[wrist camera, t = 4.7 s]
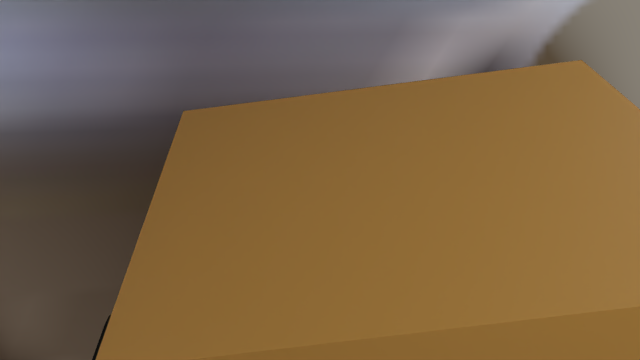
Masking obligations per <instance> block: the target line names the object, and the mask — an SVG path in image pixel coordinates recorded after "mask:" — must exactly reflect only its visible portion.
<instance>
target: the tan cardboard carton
mask: <svg viewBox="0 0 640 360" xmlns="http://www.w3.org/2000/svg"><path fill="white" fill-rule="evenodd" d="M95 360H640V109H639V108H638V107H636V106H635V105H634V104H633V103H632V102H631V101H629V100H628V99H627V98H626V97H625V96H623V95H622V94H621V93H620V92H619V91H618V90H616V89H615V88H614V87H613V86H612V85H611V84H609V83H608V82H607V81H606V80H605V79H603V78H602V77H601V76H600V75H599V74H598V73H596V72H595V71H594V70H593V69H592V68H591V67H589V66H588V65H587V64H586V63H585V62H583V61H582V60H578V61H570V62H562V63H555V64H547V65H539V66H531V67H523V68H515V69H508V70H500V71H492V72H484V73H476V74H469V75H461V76H453V77H445V78H438V79H430V80H422V81H414V82H406V83H399V84H391V85H383V86H375V87H367V88H360V89H352V90H344V91H336V92H328V93H321V94H313V95H305V96H297V97H290V98H282V99H274V100H266V101H258V102H251V103H243V104H235V105H227V106H219V107H212V108H204V109H196V110H188V111H183V114H182V116H181V119H180V122H179V125H178V128H177V131H176V133H175V136H174V139H173V142H172V145H171V147H170V150H169V153H168V156H167V159H166V162H165V164H164V167H163V170H162V173H161V176H160V179H159V181H158V184H157V187H156V190H155V193H154V196H153V198H152V201H151V204H150V207H149V210H148V212H147V215H146V218H145V221H144V224H143V227H142V229H141V232H140V235H139V238H138V241H137V244H136V246H135V249H134V252H133V255H132V258H131V260H130V263H129V266H128V269H127V272H126V275H125V277H124V280H123V283H122V286H121V289H120V292H119V294H118V297H117V300H116V303H115V306H114V309H113V311H112V314H111V317H110V320H109V323H108V325H107V328H106V331H105V334H104V337H103V340H102V342H101V345H100V348H99V351H98V354H97V357H96V359H95Z"/></svg>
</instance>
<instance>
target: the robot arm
mask: <svg viewBox="0 0 640 360" xmlns="http://www.w3.org/2000/svg"><path fill="white" fill-rule="evenodd" d="M110 317H111V315H110V316H109V317H108V319H107V321H106V323H105V326H104V328H103V331H102V334H101V337H100V339H99V342H98V345H97V348H96V351H95V353H94V356H93V359H92V360H95V359H96V357H97V354H98V351H99V348H100V345H101V342H102V340H103V337H104V334H105V331H106V328H107V325H108V323H109V320H110Z"/></svg>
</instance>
